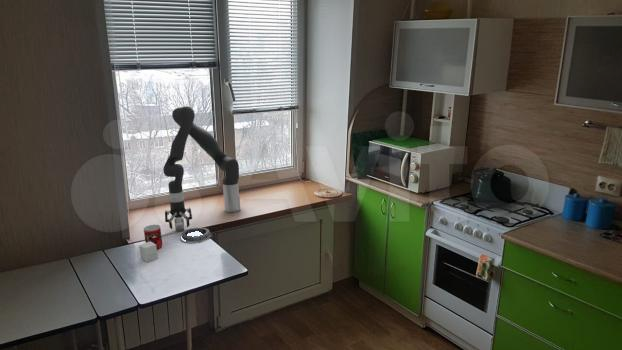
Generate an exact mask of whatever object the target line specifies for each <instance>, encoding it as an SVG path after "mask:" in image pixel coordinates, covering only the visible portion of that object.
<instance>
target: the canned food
mask: <svg viewBox="0 0 622 350" xmlns="http://www.w3.org/2000/svg"><path fill="white" fill-rule="evenodd" d="M143 233H144V243H147V242H150V241H151V242H152V243H154V244H156V247H157V251H158V250H160V249H161V248H163V238H162V231H161V225H159V224H150V225H146V226H145V227H143Z"/></svg>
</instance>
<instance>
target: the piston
mask: <svg viewBox="0 0 622 350" xmlns="http://www.w3.org/2000/svg"><path fill="white" fill-rule="evenodd" d="M184 220H185V218H184V217H181V218H180V217H178V218H175V217H174V219H173V221H174V228H175V229H174V230H175V232H176V233H183V232H184V231H185V222H184Z"/></svg>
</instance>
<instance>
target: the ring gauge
mask: <svg viewBox="0 0 622 350" xmlns="http://www.w3.org/2000/svg"><path fill="white" fill-rule="evenodd" d="M195 231H199V232H201V233H202V234H203V235H200V236H194V237H192V236H187V234H188V233H191V232H195ZM181 236H182V238H183V239H184V240H186V242H198V243H202V242H201V241H203V242H205V241H204V240H206V241H208V240H209V239H210V238H212V233H211V231H210V230H209V228H206V227H200V226H199V227H193V228H188V229H184V231H182V232H181ZM207 239H208V240H207ZM186 242H185V243H186Z"/></svg>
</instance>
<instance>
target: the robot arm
mask: <svg viewBox="0 0 622 350" xmlns="http://www.w3.org/2000/svg"><path fill="white" fill-rule="evenodd" d="M195 115H196V114H195V110H194V109H193V108H192V107H191V106H189V105H187V106H186V105H185V106H180V107H177V108H174V110H172V113H171V116H172V120H173V121H174V122H175V124H177V125H178V126H179V129H178V131H177V134H176V135H175V137H174V138H173V140H172V143H171V146H170V152H169V156H168V157H167V159H166V162H165V164H164V166H163V171H162V172H163V174H164V176H166V177H168V178H169V177H170V178H174V180H171V181H169V182H168V183H167V185H168V193H169V194H168V195H169V196H168V198H169V207H170V210H165V211H164V221H165V222H166V223H168V226H169V229H171V230H172V229H173V223H172V222H173V221H174V219H175V218H178V217H180V218H181V217H183V219H184V220H185V221H186V227H187V228H189V226H190V220H193V215H192V210H191V207H188V208H185V198H184V197H185V196H184V190H183V179H184V173H185V169H184V167H183V165H182V164H179V163H176V162H180V161H182V160H183V159H184V154H185V149H186V144H187V141H188V140H187V139H188V137H189V136H190V137H191V138H192V139H193V140H194V141H195V142H196V144H198V146H199V147H200V148H201V149H202V150H203V151H204V152H205V153H206V154H207V155H208V156H209V157H211V158H212V160H213V161H214V162H215V164H216V165H217V166H218V169H220V170H221V171H223V172H225V177H224V178H223V179H222V190H223V202H224V203H223V204H224V211H225V212H227V213H235V212H238V211H241V197H240V193H239V192H240V191H239V178H240V167H239V161H238V160H237V159H236V158H234V157H229V156H228V155H226V154H225V153H224V151H222V149H221V148H220V146H219V142H218V141H217V140H216V138H215V137H214V136H213V135H212V134H211V133H210V132H209V131H208V130H207V129H205V128H204V127H201V126H199V125H197V124H196V123H195V122H194V120H195ZM186 212H187V213H188V215H189V216H187V214H186ZM169 215H171V216H170V217H169V218H168V216H169Z"/></svg>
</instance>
